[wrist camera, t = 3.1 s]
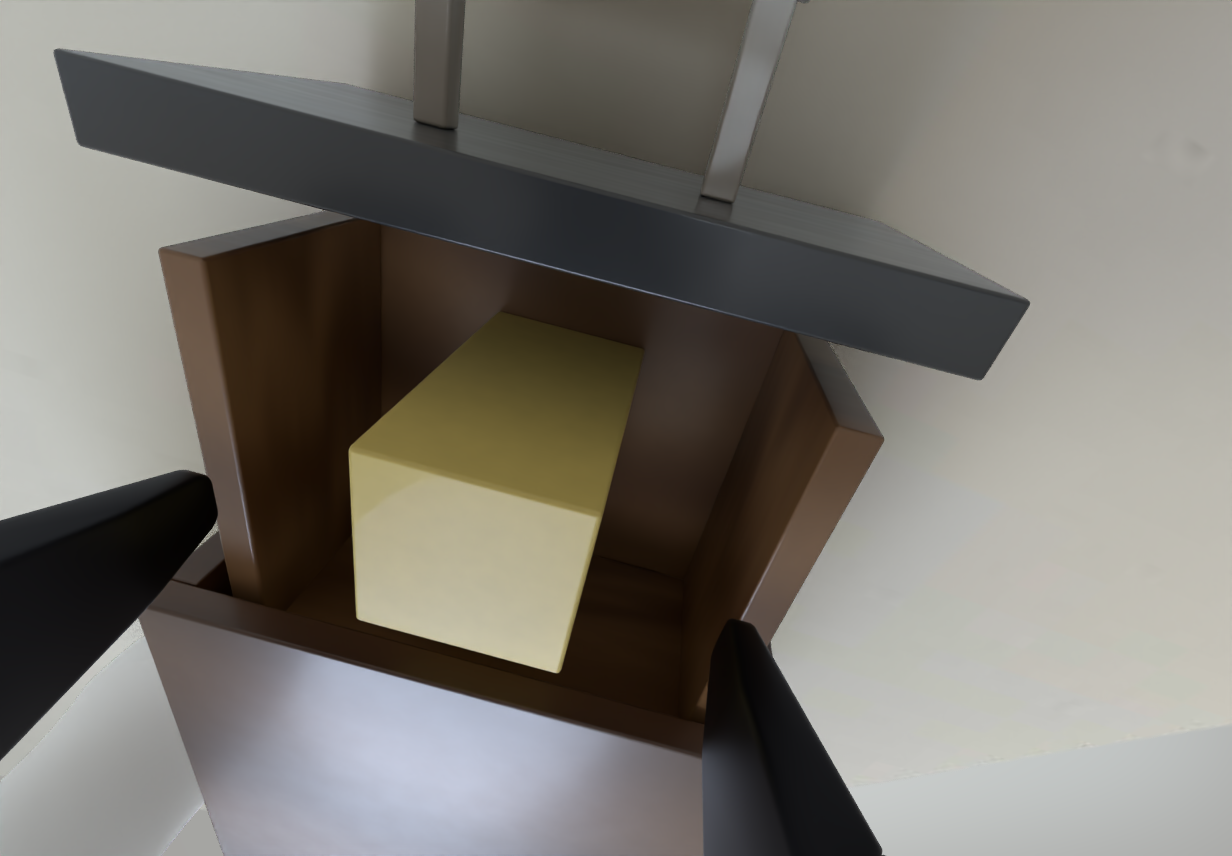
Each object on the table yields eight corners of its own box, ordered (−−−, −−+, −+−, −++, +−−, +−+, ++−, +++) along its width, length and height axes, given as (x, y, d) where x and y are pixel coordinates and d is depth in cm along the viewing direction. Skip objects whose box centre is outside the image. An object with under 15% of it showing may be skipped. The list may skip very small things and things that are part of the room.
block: (645, 347, 14) (602, 514, 8) (613, 469, 16) (559, 675, 10) (498, 309, 14) (345, 446, 8) (484, 435, 16) (353, 620, 10)
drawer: (336, -158, 11) (-98, -495, 5) (980, 4, 11) (1319, -145, 5) (359, 485, 19) (208, 642, 13) (719, 582, 19) (727, 784, 13)
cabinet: (355, 415, 19) (130, 602, 11) (755, 522, 19) (790, 782, 11) (363, 655, 26) (226, 868, 18) (656, 734, 26) (638, 983, 18)
